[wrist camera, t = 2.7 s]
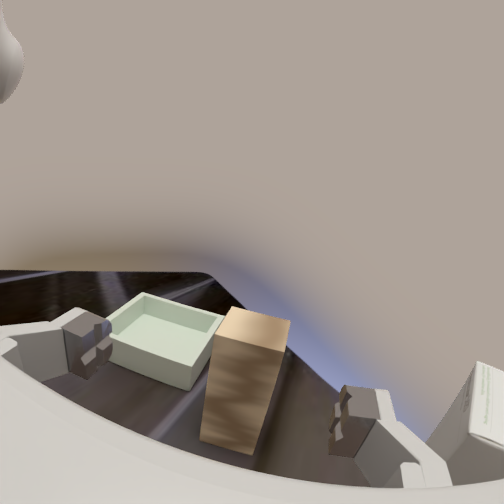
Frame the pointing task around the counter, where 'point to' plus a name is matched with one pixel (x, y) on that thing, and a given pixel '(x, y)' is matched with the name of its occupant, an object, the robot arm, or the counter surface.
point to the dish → (163, 339)
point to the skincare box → (474, 429)
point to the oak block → (242, 378)
